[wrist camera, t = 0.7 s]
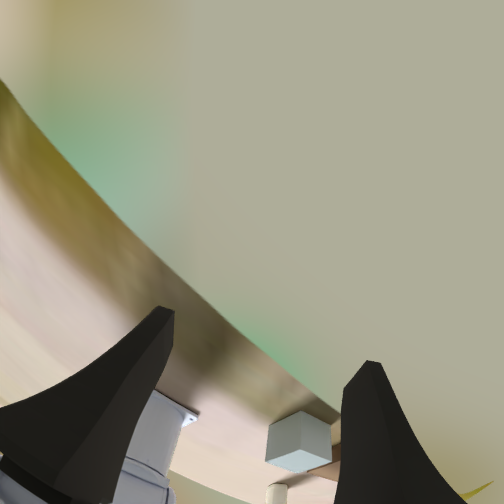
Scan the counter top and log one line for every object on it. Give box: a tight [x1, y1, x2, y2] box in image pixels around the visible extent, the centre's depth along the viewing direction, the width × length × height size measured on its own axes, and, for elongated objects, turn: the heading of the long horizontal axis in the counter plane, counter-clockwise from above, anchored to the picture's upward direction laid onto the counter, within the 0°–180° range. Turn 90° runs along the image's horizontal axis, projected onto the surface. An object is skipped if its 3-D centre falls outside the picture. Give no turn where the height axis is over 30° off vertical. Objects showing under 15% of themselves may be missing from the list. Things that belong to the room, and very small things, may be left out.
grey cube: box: [265, 410, 332, 473], centre depth 28 cm, size 5×5×5 cm
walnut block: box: [307, 444, 341, 482], centre depth 33 cm, size 9×9×3 cm
